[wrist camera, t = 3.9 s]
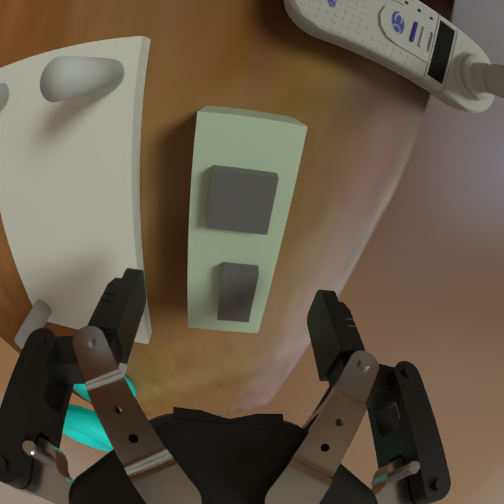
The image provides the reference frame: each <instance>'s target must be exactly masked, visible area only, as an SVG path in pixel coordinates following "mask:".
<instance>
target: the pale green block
mask: <svg viewBox="0 0 504 504" xmlns="http://www.w3.org/2000/svg"><path fill="white" fill-rule="evenodd" d="M306 132H307V126H306V125H304V124H303V123H301V122H300V121H298V120H297V119H295V118H294V117H289V116H283V115H278V114H272V113H265V112H259V111H252V110H244V109H236V108H227V107H217V106H206V107H204V108H202V109H201V110H199V111H197V120H196V130H195V140H194V151H193V163H192V176H191V192H190V210H189V233H188V282H187V301H188V327H192V328H201V329H211V330H222V331H234V332H248V333H258V332H259V328H260V324H261V321H262V317H263V313H264V309H265V305H266V302H267V298H268V294H269V290H270V286H271V282H272V278H273V274H274V270H275V266H276V262H277V258H278V254H279V250H280V246H281V242H282V238H283V234H284V229H285V225H286V221H287V217H288V213H289V208H290V204H291V200H292V195H293V191H294V187H295V182H296V178H297V173H298V169H299V164H300V160H301V155H302V151H303V146H304V141H305V137H306Z"/></svg>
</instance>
